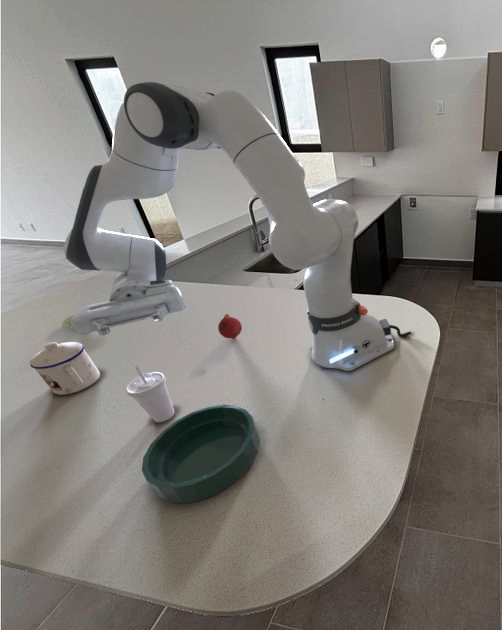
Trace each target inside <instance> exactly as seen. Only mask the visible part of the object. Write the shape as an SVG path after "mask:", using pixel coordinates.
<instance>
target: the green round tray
mask: <svg viewBox="0 0 502 630" xmlns="http://www.w3.org/2000/svg"><path fill="white" fill-rule="evenodd" d="M256 425H257V424H256V422H255V420H254V417H253V416H252V414H250V412H249V411H248V410H247V409H245V408H243V407H241V406H239V405H235V404H218V405H217V404H216V405H210V406H206V407H204V408H200V409H197V410H195V411H192V412H190V413H187V414H186V415H184V416H182V417H181V418H178V419H176V420H175V421H174V422H173V423H171V424H170V425H169V426H167V427H166V428H165V429H164V430H162V431H161V432H160V433H159V434H158V435H157V436H156V437H155V439H154V440H153V441H152V442H151V443H150V445H149V446H148V448H147V449H146V451H145V453H144V455H143V457H142V464H141V465H142V466H141V472H142V474H143V476H144V478H145V481H146V482H147V483H148V485H149V486H150V487H151V489H152V490H153V491H154V493H155V494H156V496H157V497H159V498H161V499H163V500H164V501H166V502H168V503H177V504H187V503H192V502H198V501H202V500H204V499H207V498H210V497H212V496H214V495H216V494H218V493H220V492H222V491H224V490H225V489H227V488H228V487H229V486H231V485H232V484H233V483H235V482H236V481H237V480H239V479H240V478H241V477H242V476H243V474H244V473H245V472H247V470H248V469H249V468H250V467H251V466H252V464H253V462H254V460H255V458H256V457H257V455H258V453H259V448H260V443H261V439H260V434H259V431H258V427H257V426H256Z"/></svg>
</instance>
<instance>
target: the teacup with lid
mask: <svg viewBox="0 0 502 630" xmlns="http://www.w3.org/2000/svg"><path fill="white" fill-rule="evenodd" d="M29 366H30V367H31V368H32V369H34V370H35V371H36V372H37V374H38V375H39V377H41V379H42V380H43V381H44V383H46V385H47V386H48V387H49V388H50V390H51V392H52V393H54V394H56V395H61V396H63V395H69V394H70V395H71V394H74V393H77V392H80V391H82V390H84V389H87V388H88V387H90V386H92V385H93V384H95V383H96V382H97V380H99V378H100V376H101V373H100V370H99V369H98V368H97V366H96V364H95V363H94V362H93V360H92V358H91V357H90V355H89V354H88V353H87V351H86V350H85V346H84V345H83V344H82V343H81V342H77V341H68V342H61V343H57V342H54V341H52V342H51V341H50V342H48V343H46V344H45V345H44V348H43V349H42V350H40V351H39V352H37V353H35V354H34V355H33V356H32V357H31V358H30V360H29Z"/></svg>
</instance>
